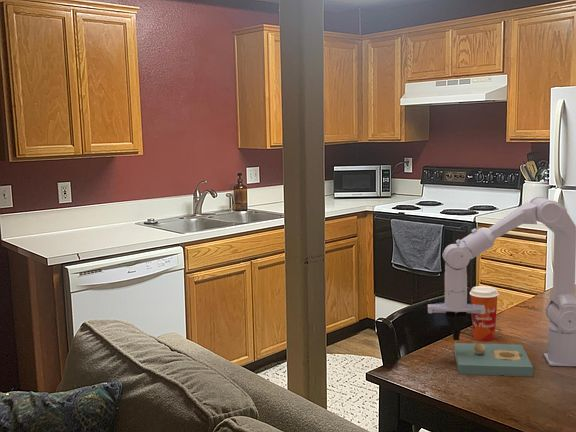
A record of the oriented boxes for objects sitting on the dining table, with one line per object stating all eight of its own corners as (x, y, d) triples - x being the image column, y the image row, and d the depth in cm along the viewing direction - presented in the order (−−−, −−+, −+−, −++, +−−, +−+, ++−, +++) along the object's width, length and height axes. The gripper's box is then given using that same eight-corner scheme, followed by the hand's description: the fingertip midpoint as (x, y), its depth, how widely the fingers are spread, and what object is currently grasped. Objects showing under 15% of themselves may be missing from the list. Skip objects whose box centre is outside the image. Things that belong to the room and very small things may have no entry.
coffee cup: (468, 341, 181) (468, 291, 179) (471, 332, 189) (470, 284, 187) (498, 343, 178) (498, 293, 176) (499, 334, 186) (500, 286, 184)
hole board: (521, 353, 170) (521, 344, 170) (532, 376, 155) (532, 367, 154) (454, 351, 174) (454, 343, 173) (458, 374, 158) (458, 364, 158)
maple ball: (484, 352, 166) (484, 341, 165) (486, 356, 163) (486, 345, 162) (473, 351, 166) (473, 341, 166) (474, 356, 163) (474, 345, 163)
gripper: (482, 286, 166) (482, 334, 168) (427, 285, 168) (427, 333, 170) (485, 293, 159) (485, 343, 161) (428, 292, 162) (428, 342, 163)
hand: (455, 338), depth 165 cm, fingers closed
